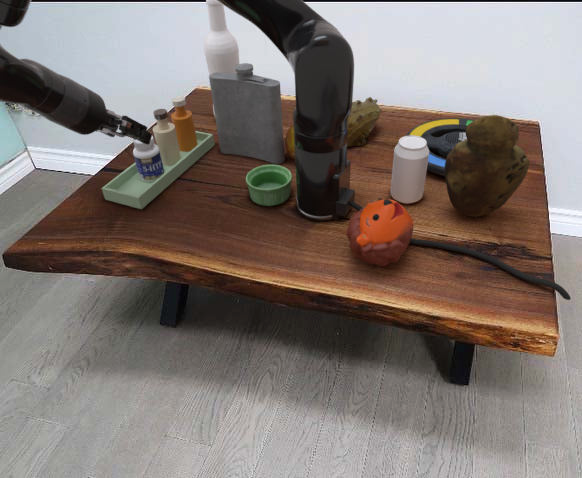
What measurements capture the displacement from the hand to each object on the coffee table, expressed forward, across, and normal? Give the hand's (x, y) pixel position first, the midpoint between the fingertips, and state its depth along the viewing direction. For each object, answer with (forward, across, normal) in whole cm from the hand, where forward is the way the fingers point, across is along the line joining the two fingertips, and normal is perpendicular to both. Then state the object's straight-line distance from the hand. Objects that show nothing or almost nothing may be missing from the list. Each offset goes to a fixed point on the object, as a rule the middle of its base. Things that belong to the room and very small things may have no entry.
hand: (131, 135), depth 98 cm
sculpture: (+19, -64, -2) cm, 67 cm away
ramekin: (+13, -26, +4) cm, 29 cm away
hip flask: (+22, -15, -5) cm, 27 cm away
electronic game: (+33, -57, -16) cm, 68 cm away
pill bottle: (+10, 0, +6) cm, 11 cm away
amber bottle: (+19, 0, -4) cm, 19 cm away
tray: (+13, 0, +4) cm, 13 cm away
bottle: (+32, -1, -15) cm, 35 cm away
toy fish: (+7, -51, +10) cm, 52 cm away
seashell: (+34, -33, -17) cm, 50 cm away
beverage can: (+19, -51, -3) cm, 55 cm away
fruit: (+24, -27, -8) cm, 37 cm away
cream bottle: (+14, 0, +1) cm, 14 cm away
